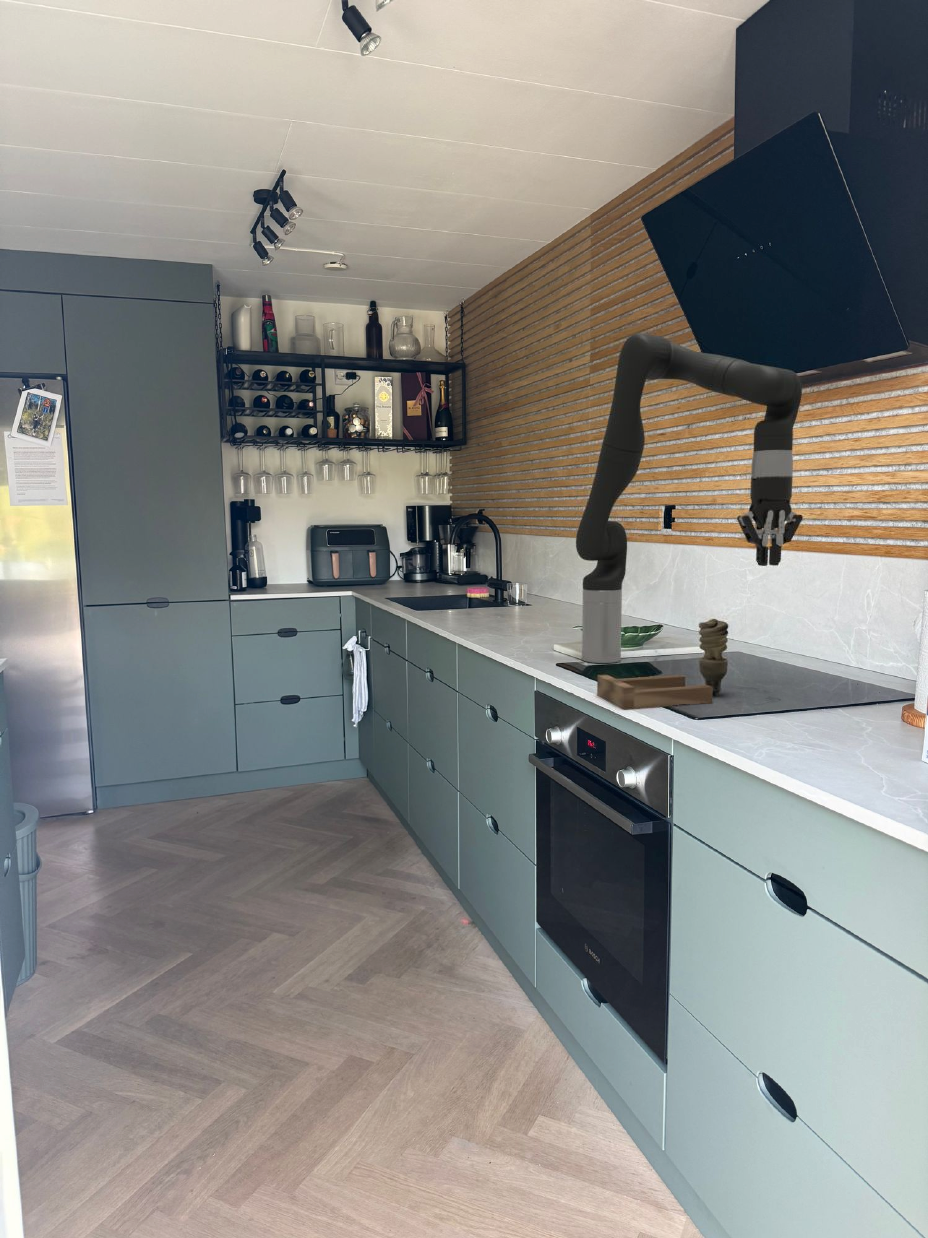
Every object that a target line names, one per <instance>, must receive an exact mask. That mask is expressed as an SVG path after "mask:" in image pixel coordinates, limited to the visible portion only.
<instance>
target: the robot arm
mask: <svg viewBox="0 0 928 1238" xmlns="http://www.w3.org/2000/svg"><path fill="white" fill-rule="evenodd" d="M647 380H648V381H654V380H677V381H678V380H679V381H685V382H688V383H691V384H694V385H696V386H698V387H700V388H702V389H705V390H706V391H710V392H714V393H718V394H721V395H724V396H725V395H726V396H730V397H734V398H739V399H741V400H744V401H747V402H748V403H753V404H755V405H756V404H757V405H759V406H765V407H766V409H765V414H764V418H763V420H760V421H758V422H757V423H756V424H755V426H754V431H753V453H752V459H751V467H750V468H751V470H750V492H749V493H750V500H751V501H750V502H751V504H750V506H749V508H748V511H747V512H745V513H744V514H741V515H738V516H736V517H737V518H736V519H737V522H738V525H739V527H740V528H741V531H742V534H743V536H744V538H745V539H746V542H747V543H749V544H753V545H755V547H756V550H755V551H756V554H755V555H756V556H755V561H756V564H757V565H758V566H759V567H760V566H761V567H766V566H768V565H770V566H773V567H774V566H779V564H780V563H781V561H782V547H783V545H785V544H787V543H790V542H792V540H793V538H794V537H795V534H796V532H797V531H798V529H799V526H800V524H801V523H802V521H803V518H804V517H803V515H802V514H796V513H795V512H794V511H792V506H791V503H790V502H791V499H792V498H793V495H792V494H793V475H794V457H793V456H794V455H793V446H794V445H793V444H794V443H793V442H794V440H793V439H794V426H795V423H796V420H797V417H798V412H799V409H800V406H801V401H802V397H803V396H802V394H803V387H802V386H803V385H802V382H801V378H800V376H799V375H798V374H797V373H796V372H794V371H793V370H790V369H787V368H786V369H785V368H781V367H776V366H775V367H774V366H768V365H763V364H757V363H751V362H749V361H747V360H743V359H739V358H735V357H730V356H725V355H721V354H714V353H706V352H699V351H695V350H693V349H689V348H687V347H684V346H682V345H680V344H679V343H676V342H674V341H672V340H669V339H668V338H665V337H663V336H661V335H655V334H648V333H642V332H641V333H638V332H637V333H634V334H632V335H629V337H628V338H627V339H626V340H625V341H624V343H623V345H622V347H621V350H620V352H619V356H618V362H617V367H616V376H615V382H614V389H613V394H612V395H613V397H612V401H611V406H610V411H609V415H608V419H607V420H608V421H607V425H606V428H605V432H604V437H603V440H602V443H601V448H600V451H599V456H598V460H597V466H596V470H595V474H594V477H593V481H592V482H593V483H592V485H591V489H590V492H589V496H588V498H587V499H588V500H587V503H586V505H585V508H584V511H583V514H582V517H581V519H580V523H579V526H578V528H577V533H576V538H575V548H576V553H577V554H578V556H579V557H580V558H581V559H582V560H584V561H590V562H591V561H592V562H596V566H595V568H594V569H593V570H592V571H590V573H588V574H586V575H585V576H584V577H583V579H582V612H581V613H582V630H581V631H582V632H581V635H582V637H581V640H582V641H581V660H582V661H584V662H587V663H593V664H596V663H597V664H612V663H619V662H621V660H622V657H621V656H622V617H623V616H622V610H623V609H622V607H623V583H624V579H625V576H626V569H627V555H628V554H627V553H628V539H627V538H628V537H627V532H626V529H625V527H624V526H623V524H621V522H619V521H616V520H615V521H614V520H609V518H610V517H611V516H610V515H611V513H612V510H613V508H614V505H615V503H616V502H617V500H618V499H619V498H620V497H621V496H622V494H623V493H624V492H625V490H626V489H627V488H628V486H629V485H631V483H632V481H633V480H634V478H635V476H636V474H637V472H638V470H639V468H640V464H641V460H642V456H643V453H644V448H645V443H646V442H645V441H646V440H645V437H646V436H645V430H644V424H643V419H642V413H641V412H642V411H641V403H642V396H643V392H644V387H645V384H646V381H647ZM753 523H755V525H754V524H753ZM769 541H770V543H769ZM768 544H770V545H769V546H768Z"/></svg>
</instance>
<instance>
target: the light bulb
mask: <svg viewBox="0 0 928 1238" xmlns="http://www.w3.org/2000/svg"><path fill="white" fill-rule="evenodd" d="M698 628H699V630H698V634H699V635H700V637H699V639H698V640H699V642H700V645H699V649H700V650H702V651H704V655H703V657H700V658H699V666H698V667H699V671H700V674H701V675H702V677H703V678H704V680H705V685H708V686H711V687H713V694H712V697H714V696H716V695H717V694H719V693H720V691H722V689H721V688H722V687H721V685H722V680H723V679H724V677H725V676H726V675H727V672H728V663H729V662H728V658H725V657H723V652H725V651H727V649H728V645H727V643H728V640H729V639H728V638H727V637H728V635H729V631H728V628H729V624H728V623H727V622H725V621H723V620H719V619H716V618H711V619H709V620H706V621H705V622H704V621H703V622H702V621H701V622H698Z"/></svg>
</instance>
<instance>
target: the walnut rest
mask: <svg viewBox="0 0 928 1238" xmlns="http://www.w3.org/2000/svg"><path fill="white" fill-rule="evenodd" d="M596 682H597V684H596V686H597V689H596V690H597V691H596V696H598V697H600V698H601V699H604V700H606V702H609V703H610V704H613V705H614V706H616V707H618V708H620V709H622V710H635V709H636V710H637V709H648V708H662V707H663V708H665V707H674V706H673V705H678V706H680V705H679V704H690V705H701V704H700V703H703V704H711V703H713V695H712V694H713V687H711V686H708V685H706V684H702V685H690V686H686V676H685V675H682V674H673V675H671V674H670V675H658V676H644V677H643V676H642V677H629V678H627V677H626V678H615V677H613V676H611V675H608V674H598V675H597V680H596Z"/></svg>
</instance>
